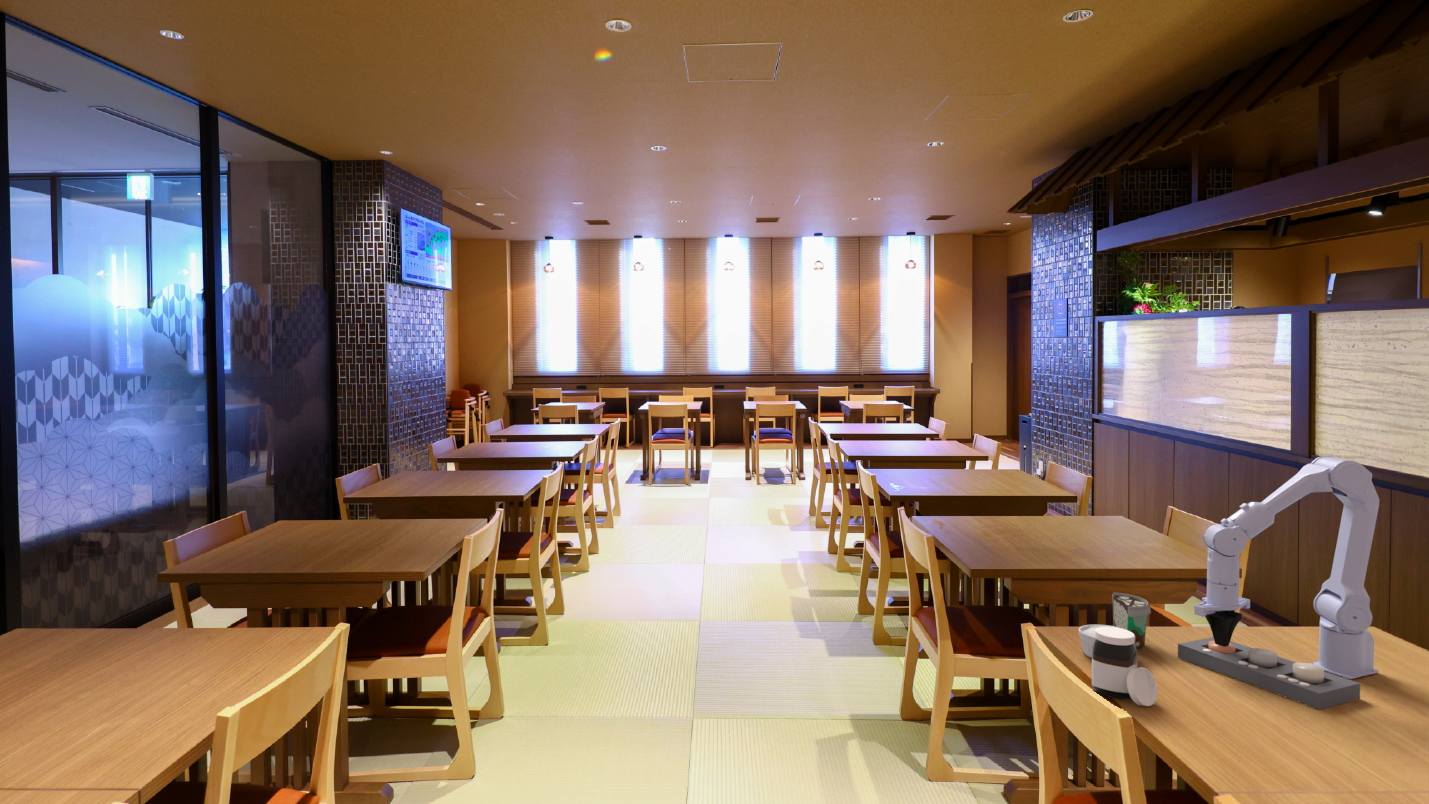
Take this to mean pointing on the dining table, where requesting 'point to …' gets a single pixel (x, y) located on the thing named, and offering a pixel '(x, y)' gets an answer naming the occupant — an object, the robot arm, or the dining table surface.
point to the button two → (1262, 657)
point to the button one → (1222, 648)
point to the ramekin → (1089, 637)
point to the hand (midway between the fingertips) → (1221, 645)
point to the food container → (1131, 615)
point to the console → (1271, 675)
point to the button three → (1308, 673)
